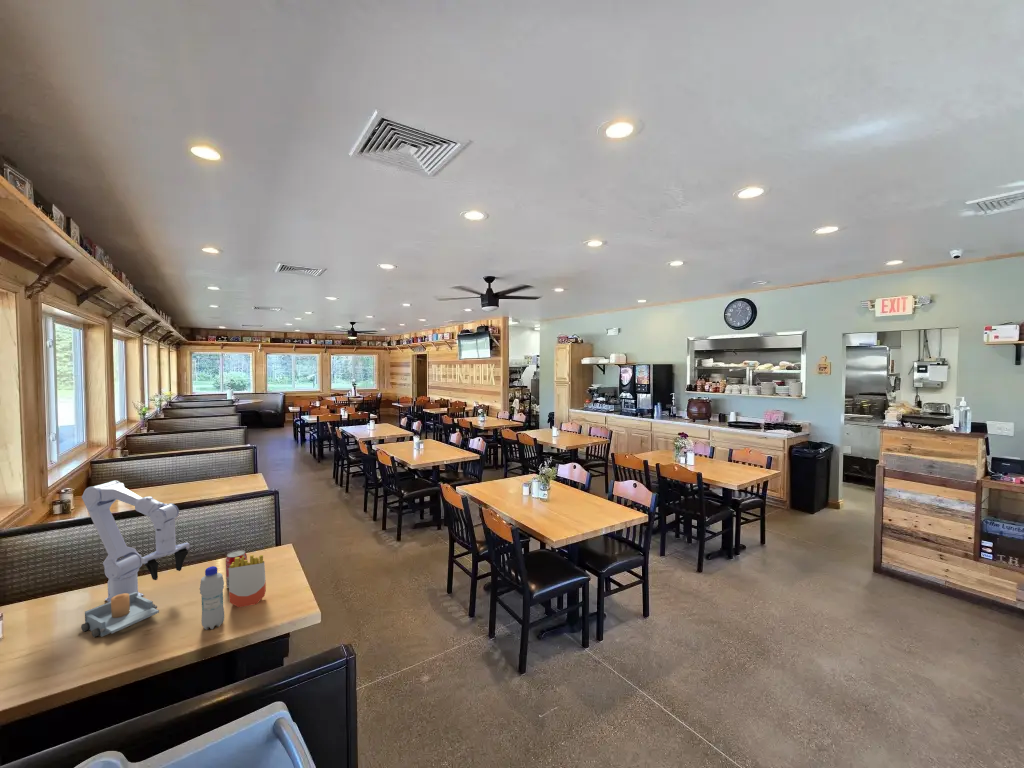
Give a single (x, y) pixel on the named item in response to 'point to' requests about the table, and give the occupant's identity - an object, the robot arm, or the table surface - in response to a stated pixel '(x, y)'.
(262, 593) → the french fries container
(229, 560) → the soda can
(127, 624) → the panel
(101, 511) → the robot arm
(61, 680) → the table surface
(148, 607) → the box
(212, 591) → the bottle
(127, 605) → the tan hollow cylinder
